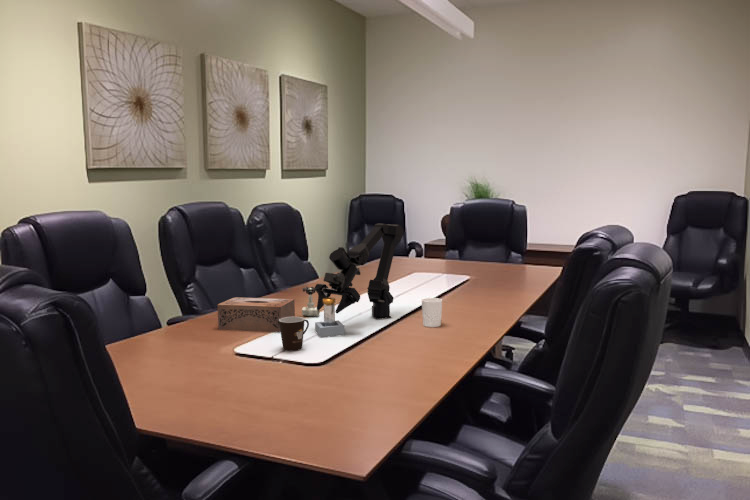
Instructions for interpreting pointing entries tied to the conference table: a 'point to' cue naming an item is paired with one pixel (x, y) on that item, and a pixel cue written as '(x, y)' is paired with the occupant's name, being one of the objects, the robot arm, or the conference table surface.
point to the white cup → (431, 312)
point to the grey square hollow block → (329, 329)
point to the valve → (310, 304)
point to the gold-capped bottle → (329, 311)
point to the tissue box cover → (254, 314)
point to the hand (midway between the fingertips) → (326, 311)
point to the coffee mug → (292, 332)
